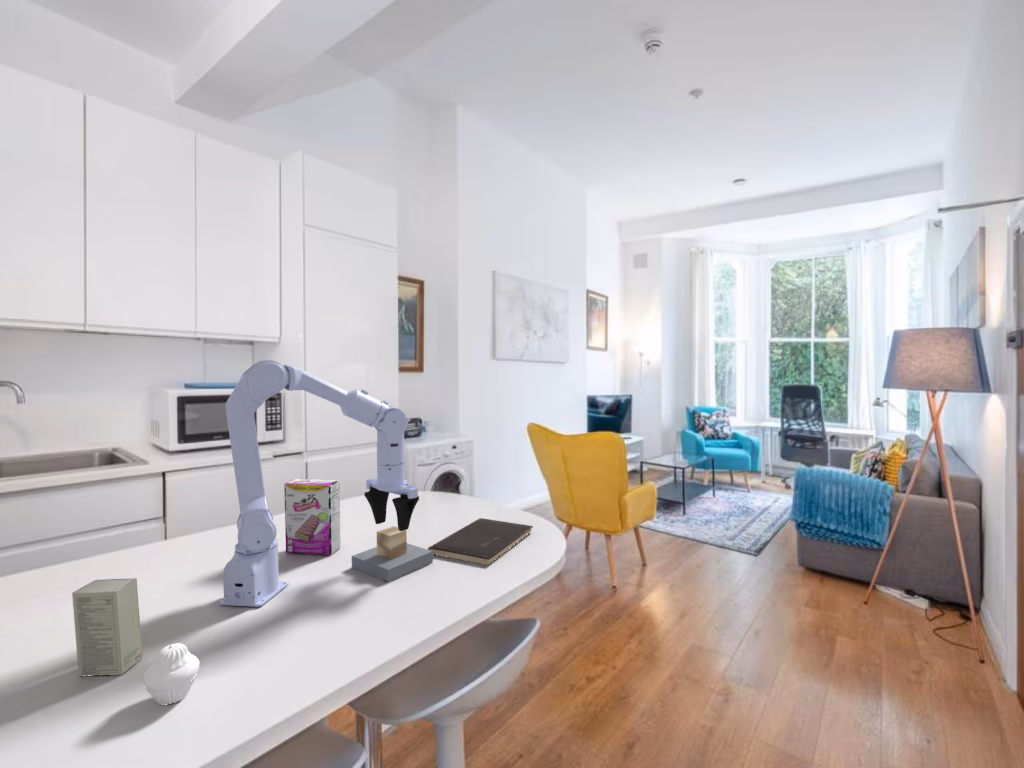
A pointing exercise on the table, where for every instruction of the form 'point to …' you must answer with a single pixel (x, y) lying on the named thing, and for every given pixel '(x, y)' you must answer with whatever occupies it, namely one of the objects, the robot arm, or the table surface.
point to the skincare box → (107, 626)
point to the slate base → (392, 562)
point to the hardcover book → (481, 540)
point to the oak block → (391, 542)
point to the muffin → (171, 674)
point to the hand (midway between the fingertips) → (391, 526)
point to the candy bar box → (312, 516)
